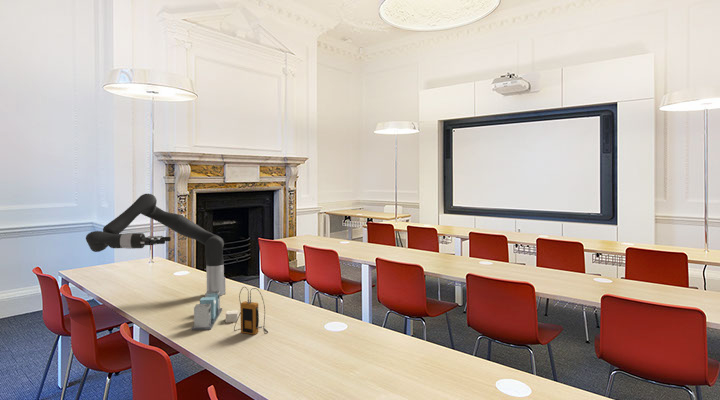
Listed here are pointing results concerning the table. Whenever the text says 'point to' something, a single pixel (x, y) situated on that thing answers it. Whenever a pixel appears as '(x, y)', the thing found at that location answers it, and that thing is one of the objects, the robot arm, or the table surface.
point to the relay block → (231, 316)
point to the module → (213, 304)
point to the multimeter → (249, 316)
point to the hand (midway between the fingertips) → (167, 240)
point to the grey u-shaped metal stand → (206, 313)
